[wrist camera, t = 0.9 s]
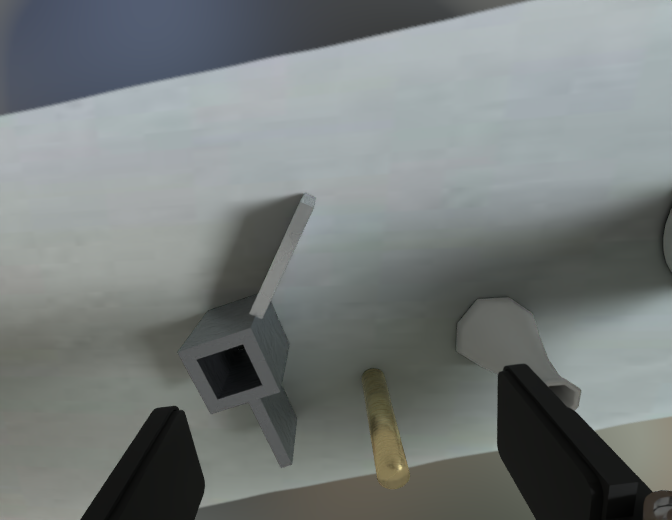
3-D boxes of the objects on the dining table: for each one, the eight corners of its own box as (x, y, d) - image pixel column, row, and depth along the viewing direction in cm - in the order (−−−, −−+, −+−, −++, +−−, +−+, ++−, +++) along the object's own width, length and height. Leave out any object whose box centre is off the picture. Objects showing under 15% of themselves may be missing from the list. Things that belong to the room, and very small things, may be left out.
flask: (442, 355, 34) (487, 434, 25) (470, 286, 32) (529, 342, 23) (512, 371, 35) (582, 454, 26) (543, 305, 33) (631, 367, 24)
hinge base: (266, 291, 32) (250, 328, 25) (318, 411, 36) (317, 471, 29) (208, 310, 32) (177, 352, 26) (266, 428, 36) (252, 491, 29)
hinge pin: (380, 365, 34) (404, 459, 24) (387, 384, 35) (413, 483, 25) (358, 372, 35) (372, 468, 24) (365, 390, 35) (382, 492, 25)
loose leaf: (316, 197, 29) (313, 207, 24) (272, 291, 32) (261, 319, 26) (304, 192, 29) (300, 201, 24) (262, 286, 32) (249, 313, 26)
